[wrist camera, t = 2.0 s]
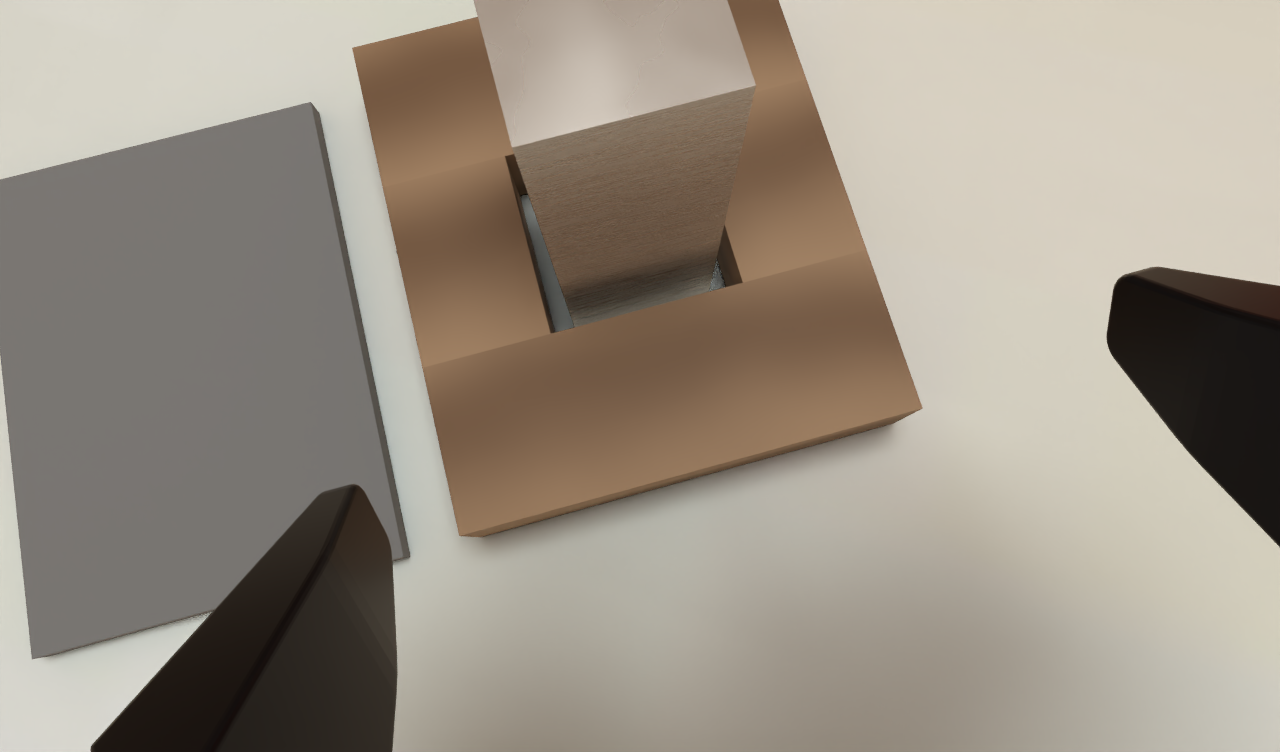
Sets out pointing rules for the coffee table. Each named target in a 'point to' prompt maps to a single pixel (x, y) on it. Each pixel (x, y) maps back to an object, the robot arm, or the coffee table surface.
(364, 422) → the grey mat
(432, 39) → the brown wooden frame
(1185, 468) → the coffee table surface
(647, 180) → the steel key bar
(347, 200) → the coffee table surface
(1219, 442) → the robot arm
